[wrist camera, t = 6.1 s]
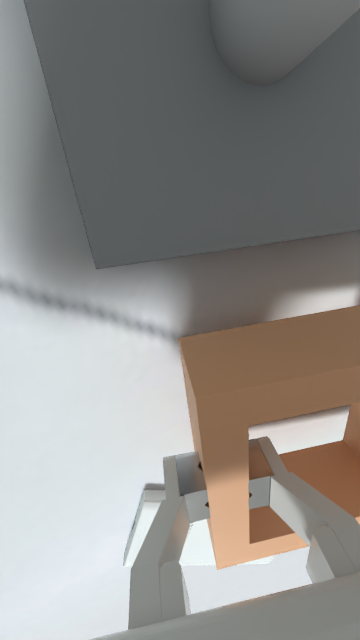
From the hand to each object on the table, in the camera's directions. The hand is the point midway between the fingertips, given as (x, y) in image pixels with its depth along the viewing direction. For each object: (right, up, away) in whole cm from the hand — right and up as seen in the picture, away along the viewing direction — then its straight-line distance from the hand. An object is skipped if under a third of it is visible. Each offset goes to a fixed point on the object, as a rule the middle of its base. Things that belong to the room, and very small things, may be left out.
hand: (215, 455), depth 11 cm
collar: (+4, +1, +2) cm, 5 cm away
